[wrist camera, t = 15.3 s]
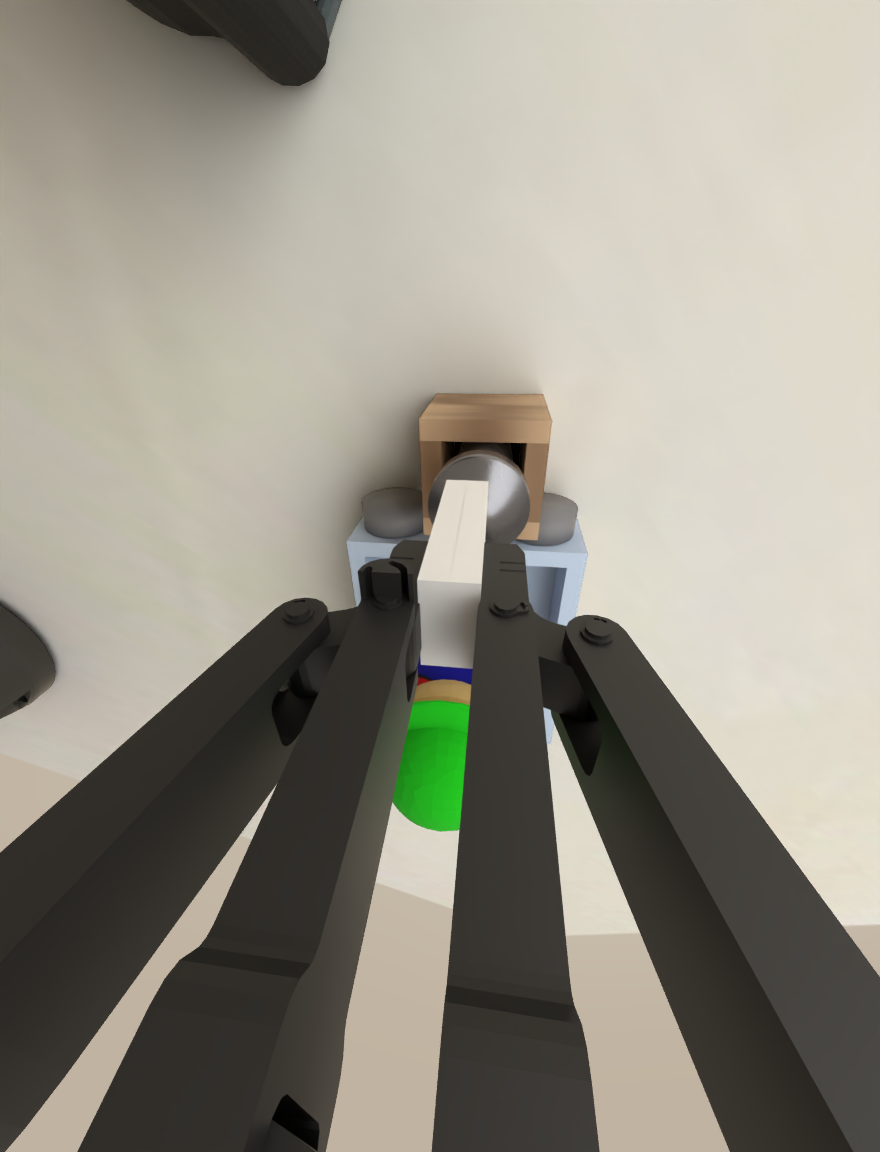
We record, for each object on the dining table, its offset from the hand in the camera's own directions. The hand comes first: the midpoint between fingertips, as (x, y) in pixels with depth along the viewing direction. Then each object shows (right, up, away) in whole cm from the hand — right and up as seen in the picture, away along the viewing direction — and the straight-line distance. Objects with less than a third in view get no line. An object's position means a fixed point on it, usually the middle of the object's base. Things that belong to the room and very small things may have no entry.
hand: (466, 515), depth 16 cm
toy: (+1, -6, +17) cm, 18 cm away
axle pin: (+2, +5, +9) cm, 10 cm away
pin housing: (+2, +6, +10) cm, 12 cm away
